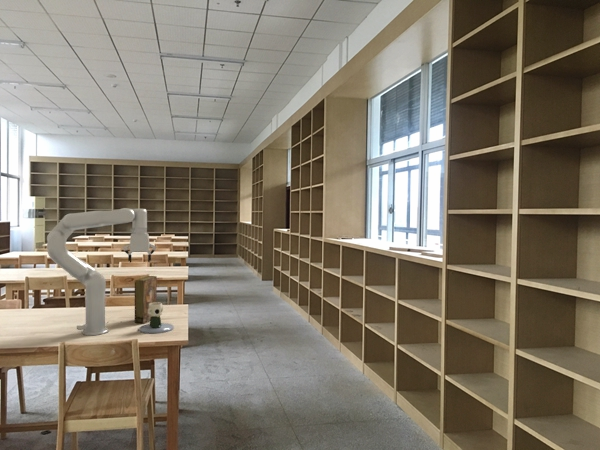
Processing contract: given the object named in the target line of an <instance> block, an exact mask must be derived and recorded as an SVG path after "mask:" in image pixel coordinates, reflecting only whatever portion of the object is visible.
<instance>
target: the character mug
mask: <svg viewBox="0 0 600 450" xmlns="http://www.w3.org/2000/svg"><path fill="white" fill-rule="evenodd" d="M163 311H164V306H163V303H162V302H157V303H150V304H149V309H148V315H149V316H152V317H151V318H150V321H149V324H150V327H153V328H157V327H159V325H160V327H161V323H162V319H161V316H162V315H163Z"/></svg>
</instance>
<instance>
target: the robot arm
mask: <svg viewBox="0 0 600 450" xmlns="http://www.w3.org/2000/svg"><path fill="white" fill-rule="evenodd" d="M131 222H132V228H130V229H129V232H131V233H130V237H129V243H128V244H127V245H125V246H122V249H123V250H124V253H125V254H127V255H128V262H129V263H132V253H144V252H145V253H147V254H148V255H147V261H148V263H150V262H151V261H152V254H154V252H155V251H156V249H157V246H155V245H153V244H151V243H150V235H149V233H148V211H147V208H130V207H129V208H128V207H123V208H122V207H121V208H120V209H114V210H113V209H112V210H93V211H92V210H91V211H85V212H76V213H74V212H73V213H67V214H66V215H64V216H63V217H62V218H61V219H60V221H59V222H58V223H57V224H56V225H55V226H54V227H53V228H52V230H50V232H49V233H48V234H47V236H46V242H47V243H46V250H47V251H46V252H47V254H48V257H49V258H50V259H51V260H52V261H53V262H54V263H55V264H56V265H57V266H59V267H60V268H62V269H63V270H64V271H65V272H67V273H68V275H69V276H71V277H73V278H74V279H76V280H77V281H78V282H80V283H81V284H82V285H84V286H85V297H84V299H85V300H84V301H85V302H84V303H85V323H84V324H83V325H80V324H79V325H76V330H79V331H82V332H81V333H82V334H83V335H84V336H99V335H103V334H107V333H108V332H109V328H107V327H106V288H107V287H106V286H107V284H106V283H107V282H106V279H105V277H104V276H103V274H102V273H100V272H99V271H97V270H96V269H94V267H92V266H91V265H89V264H88V263H87V262H86V261H85V260H84V259H81V258H79V257H77V256H76V255H74V254H73V253H72V252H71V251H70V250H69V249H67V246H66V244H67V240H68V238H69V237H70V236H71V235H72V234H73V232H75V231H78V230H83V229H84V230H85V229H91V228H92V229H93V228H99V227H106V226H113V225H119V224H120V225H121V224H127V223H131ZM127 248H129V250H128V249H127ZM150 248H152V250H151V251H150Z"/></svg>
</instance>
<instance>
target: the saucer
mask: <svg viewBox="0 0 600 450" xmlns="http://www.w3.org/2000/svg"><path fill="white" fill-rule="evenodd" d="M138 329H139V332H140V333H142V334H163V333H168V332H171V331H172V330H174V329H175V328H174V325H173V323H172V324H171V323H167V322H166V323H165V322H161V327H160V325H159V327H157V328H153V327H150V323H146V324H143V325H141V326H140V327H139V328H138Z"/></svg>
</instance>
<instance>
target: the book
mask: <svg viewBox="0 0 600 450" xmlns="http://www.w3.org/2000/svg"><path fill="white" fill-rule="evenodd" d="M157 279H158V278H157V276H156V275H148V276H145V277H141V278H137V279H135V280H134V323H135V324H137V323H138V324H139V323H140V324H148V322H149V323H150V318H151V317H152V316H149V315H148V309H149V304H150V303H158V302H157V300H158V299H157V298H158V297H157V295H158V294H157V293H158V291H157V285H158V284H157V283H158V282H157V281H158V280H157Z"/></svg>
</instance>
